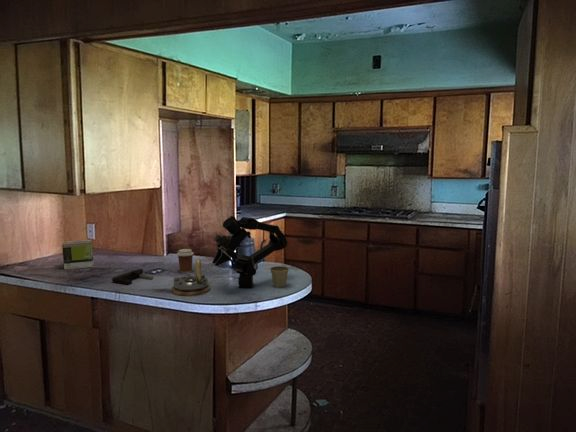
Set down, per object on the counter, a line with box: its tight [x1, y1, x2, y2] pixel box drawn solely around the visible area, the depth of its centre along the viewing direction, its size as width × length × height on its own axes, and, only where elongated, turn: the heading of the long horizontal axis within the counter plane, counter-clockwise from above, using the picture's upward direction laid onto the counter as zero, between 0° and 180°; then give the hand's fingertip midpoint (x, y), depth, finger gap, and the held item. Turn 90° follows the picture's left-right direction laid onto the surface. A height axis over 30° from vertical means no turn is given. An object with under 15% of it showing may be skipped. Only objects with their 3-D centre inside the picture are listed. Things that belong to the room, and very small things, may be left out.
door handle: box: [111, 268, 154, 286], centre depth 243 cm, size 3×20×16 cm
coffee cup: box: [176, 248, 195, 274], centre depth 257 cm, size 9×9×12 cm
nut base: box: [171, 283, 211, 297], centre depth 224 cm, size 18×18×2 cm
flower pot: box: [269, 265, 290, 288], centre depth 230 cm, size 9×9×9 cm
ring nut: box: [173, 259, 209, 292], centre depth 222 cm, size 16×16×14 cm
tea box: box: [61, 239, 95, 270], centre depth 268 cm, size 15×10×15 cm
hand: (214, 264), depth 220 cm, fingers open, 5 cm apart
